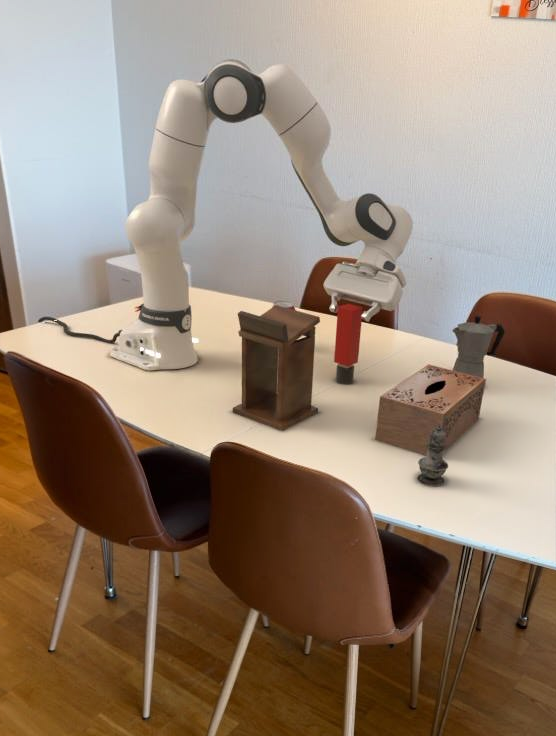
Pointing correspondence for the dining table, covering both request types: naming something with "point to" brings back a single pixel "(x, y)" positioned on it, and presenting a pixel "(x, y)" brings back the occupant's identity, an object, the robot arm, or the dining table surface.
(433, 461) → the dark stone figurine
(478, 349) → the coffeepot
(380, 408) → the tissue box cover
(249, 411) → the wooden lectern stand
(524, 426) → the dining table surface
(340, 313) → the tall red pillar
